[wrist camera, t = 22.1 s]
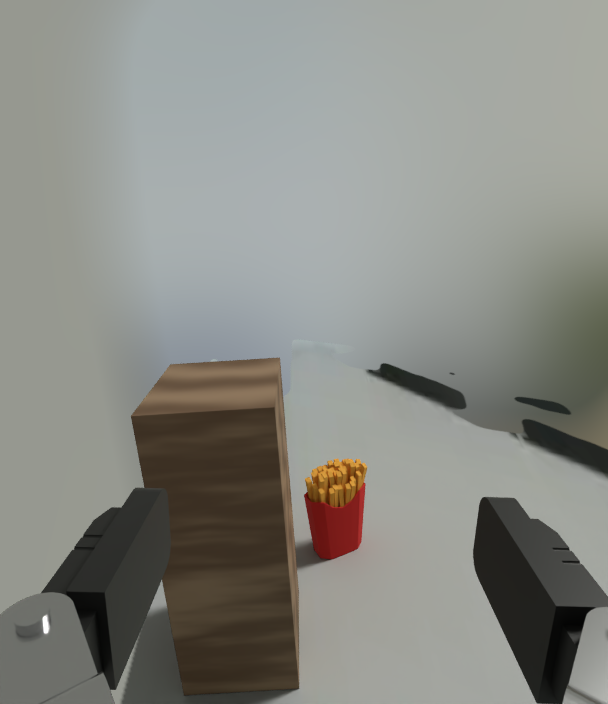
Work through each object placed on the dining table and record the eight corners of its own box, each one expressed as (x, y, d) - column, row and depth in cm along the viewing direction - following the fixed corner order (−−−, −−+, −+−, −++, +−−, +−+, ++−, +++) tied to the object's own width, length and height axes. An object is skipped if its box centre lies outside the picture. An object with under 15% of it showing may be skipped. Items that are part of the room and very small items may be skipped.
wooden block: (299, 688, 49) (274, 407, 39) (184, 695, 49) (130, 416, 39) (298, 590, 61) (279, 357, 52) (206, 595, 62) (170, 364, 52)
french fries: (318, 565, 65) (312, 484, 61) (304, 546, 69) (299, 469, 65) (373, 542, 69) (372, 464, 65) (358, 526, 73) (355, 451, 69)
